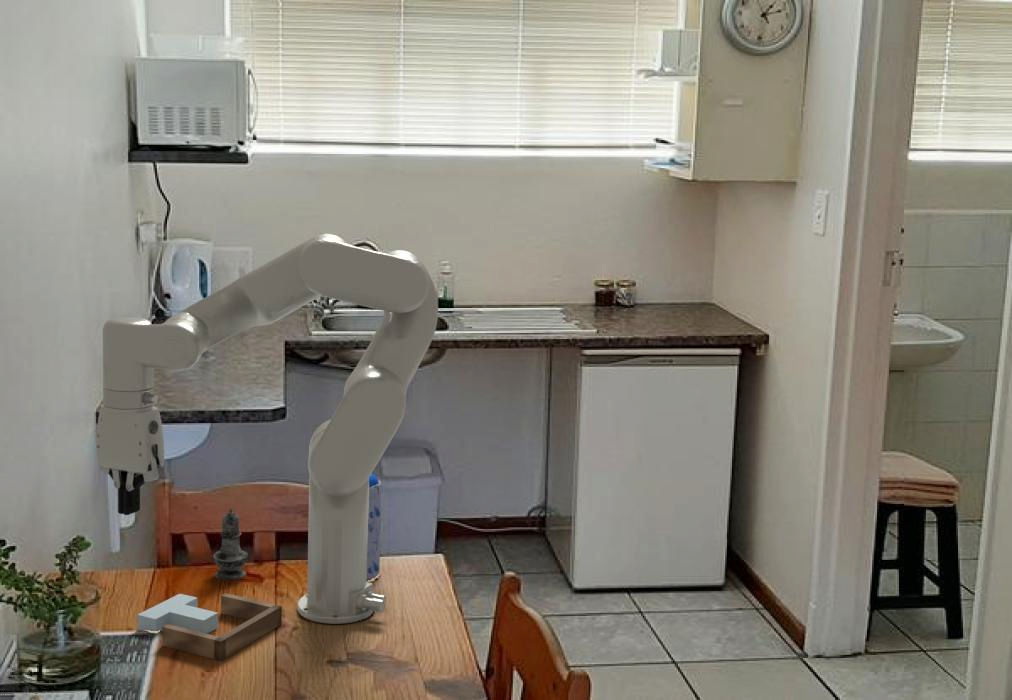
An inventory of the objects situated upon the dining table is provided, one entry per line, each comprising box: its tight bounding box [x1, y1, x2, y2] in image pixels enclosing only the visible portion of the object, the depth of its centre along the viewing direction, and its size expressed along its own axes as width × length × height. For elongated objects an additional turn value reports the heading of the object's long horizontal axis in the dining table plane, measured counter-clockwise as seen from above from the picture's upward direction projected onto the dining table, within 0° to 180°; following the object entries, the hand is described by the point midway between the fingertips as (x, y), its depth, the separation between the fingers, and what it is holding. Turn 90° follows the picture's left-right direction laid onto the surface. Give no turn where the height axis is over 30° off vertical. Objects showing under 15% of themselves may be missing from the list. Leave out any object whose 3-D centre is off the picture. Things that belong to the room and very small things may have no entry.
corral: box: [161, 592, 283, 662], centre depth 189 cm, size 11×15×3 cm
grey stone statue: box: [213, 508, 249, 581], centre depth 213 cm, size 6×6×12 cm
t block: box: [136, 593, 219, 634], centre depth 192 cm, size 10×10×2 cm
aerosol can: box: [367, 472, 383, 581], centre depth 214 cm, size 8×8×20 cm
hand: (129, 511), depth 193 cm, fingers closed
